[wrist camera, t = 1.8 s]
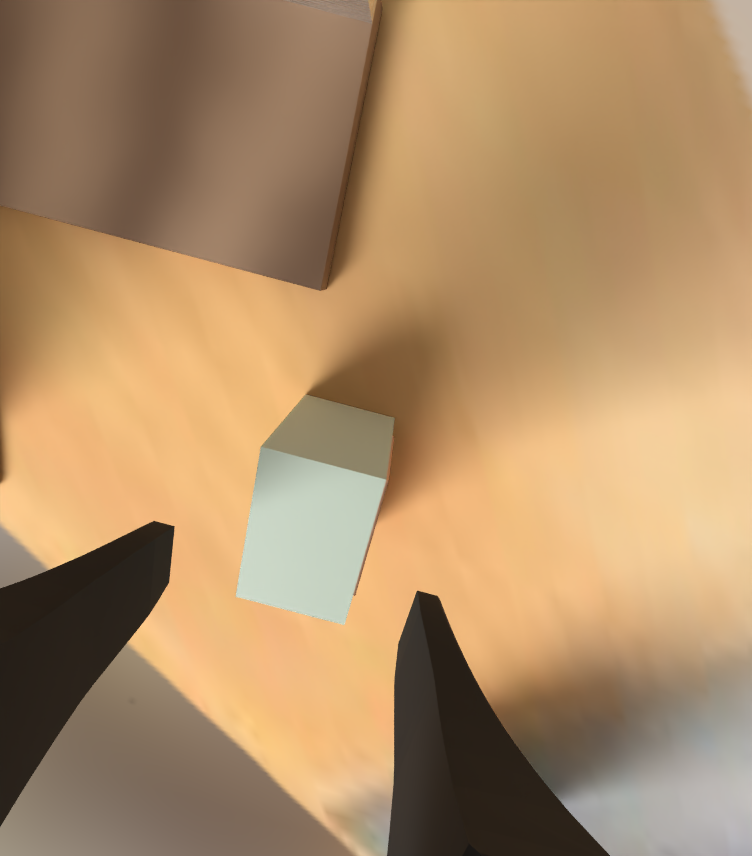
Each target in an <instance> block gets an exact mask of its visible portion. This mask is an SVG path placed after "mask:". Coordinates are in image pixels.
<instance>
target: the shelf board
mask: <svg viewBox="0 0 752 856" xmlns="http://www.w3.org/2000/svg"><path fill="white" fill-rule="evenodd" d="M381 13H382V2H381V0H377V3H376V8H375V13H374V18H373V23H372V24H370V23H367V22H363V21H359V20H355V19H352V18H348V17H344V16H341V15H337V14H333V13H330V12H326V11H322V10H318V9H315V8H311V7H307V6H304V5H300V4H296V3H292V2H289V1H285V0H0V206H4V207H8V208H12V209H15V210H19V211H23V212H27V213H30V214H34V215H38V216H42V217H45V218H49V219H53V220H57V221H60V222H64V223H68V224H72V225H75V226H79V227H83V228H87V229H90V230H94V231H98V232H102V233H106V234H109V235H113V236H117V237H121V238H124V239H128V240H132V241H136V242H139V243H143V244H147V245H151V246H154V247H158V248H162V249H166V250H169V251H173V252H177V253H181V254H184V255H188V256H192V257H196V258H199V259H203V260H207V261H211V262H214V263H218V264H222V265H226V266H230V267H233V268H237V269H241V270H245V271H248V272H252V273H256V274H260V275H263V276H267V277H271V278H275V279H278V280H282V281H286V282H290V283H293V284H297V285H301V286H305V287H308V288H312V289H316V290H320V291H321V290H325V289H327V284H328V279H329V274H330V269H331V264H332V259H333V254H334V249H335V244H336V239H337V234H338V229H339V224H340V219H341V214H342V209H343V204H344V199H345V194H346V189H347V184H348V179H349V174H350V169H351V164H352V159H353V154H354V149H355V144H356V139H357V134H358V129H359V124H360V118H361V113H362V108H363V103H364V98H365V93H366V88H367V83H368V78H369V73H370V68H371V63H372V58H373V53H374V48H375V43H376V38H377V33H378V28H379V23H380V18H381Z"/></svg>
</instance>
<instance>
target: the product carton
mask: <svg viewBox="0 0 752 856" xmlns="http://www.w3.org/2000/svg"><path fill="white" fill-rule="evenodd" d="M394 421H395V418H393V417H390V416H386V415H382V414H378V413H375V412H371V411H367V410H363V409H359V408H356V407H352V406H348V405H344V404H341V403H337V402H333V401H329V400H325V399H322V398H318V397H314V396H310V395H307V394H306V395H305V396H304V397H303V398H302V399H301V400H300V402H299V403H298V404H297V405H296V406H295V407H294V409H293V410H292V411H291V412H290V413H289V414H288V416H287V417H286V418H285V419H284V420H283V422H282V423H281V424H280V425H279V426H278V427H277V429H276V430H275V431H274V432H273V433H272V434H271V436H270V437H269V438H268V439H267V440H266V441H265V443H264V444H263V445H262V446H261V450H260V456H259V462H258V467H257V473H256V479H255V485H254V491H253V497H252V503H251V509H250V515H249V521H248V527H247V533H246V538H245V544H244V550H243V556H242V562H241V568H240V574H239V580H238V586H237V592H236V597H239V598H243V599H247V600H250V601H254V602H258V603H262V604H266V605H270V606H273V607H277V608H281V609H285V610H289V611H293V612H296V613H300V614H304V615H308V616H312V617H316V618H319V619H323V620H327V621H331V622H335V623H339V624H342V625H345V621H346V618H347V614H348V611H349V607H350V604H351V600H352V597H353V595H354V596H355V595H356V591H357V588H358V584H359V581H360V577H361V574H362V571H363V567H364V564H365V560H366V557H367V553H368V550H369V547H370V543H371V540H372V536H373V533H374V529H375V526H376V523H377V519H378V516H379V512H380V509H381V505H382V502H383V499H384V495H385V492H386V488H387V485H388V481H389V475H390V467H391V459H392V451H393V443H394V437H392V435H393V428H394Z"/></svg>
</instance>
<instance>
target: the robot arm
mask: <svg viewBox="0 0 752 856" xmlns="http://www.w3.org/2000/svg"><path fill="white" fill-rule="evenodd" d="M174 527H175V526H171V525H167V524H163V523H160V522H156V521H153V522H151V523H149V524H147V525H145V526H142V527H140V528H138V529H136V530H134V531H132V532H130V533H128V534H126V535H124V536H122V537H120V538H118V539H116V540H114V541H112V542H110V543H108V544H106V545H104V546H102V547H100V548H97V549H95V550H93V551H91V552H89V553H87V554H85V555H83V556H81V557H78V558H76V559H74V560H71V561H69V562H67V563H64V564H62V565H60V566H57V567H55V568H53V569H50V570H48V571H46V572H43V573H41V574H38V575H36V576H33V577H31V578H28V579H26V580H23V581H20V582H17V583H15V584H12V585H9V586H6V587H3V588H0V826H1V825H2V823H3V821H4V820H5V818H6V816H7V815H8V813H9V812H10V810H11V808H12V807H13V805H14V803H15V802H16V800H17V798H18V797H19V795H20V794H21V792H22V790H23V789H24V787H25V785H26V784H27V782H28V781H29V779H30V778H31V776H32V774H33V773H34V771H35V770H36V768H37V767H38V765H39V764H40V762H41V760H42V759H43V757H44V756H45V754H46V753H47V751H48V749H49V748H50V746H51V745H52V743H53V742H54V740H55V738H56V737H57V736H58V734H59V733H60V731H61V730H62V728H63V726H64V725H65V724H66V722H67V721H68V719H69V718H70V716H71V715H72V713H73V712H74V710H75V709H76V707H77V706H78V704H79V703H80V701H81V700H82V699H83V698H84V696H85V695H86V693H87V692H88V691H89V689H90V688H91V687H92V685H93V684H94V683H95V682H96V680H97V679H98V678H99V677H100V675H101V674H102V673H103V672H104V671H105V669H106V668H107V667H108V665H109V664H110V663H111V662H112V661H113V659H114V658H115V657H116V656H117V654H118V653H119V652H120V651H121V649H122V648H123V647H124V646H125V644H126V643H127V642H128V641H129V640H130V638H131V637H132V636H133V634H134V633H135V632H136V631H137V629H138V628H139V627H140V626H141V624H142V623H143V622H144V621H145V619H146V618H147V617H148V615H149V614H150V612H151V611H152V609H153V608H154V606H155V605H156V603H157V602H158V600H159V598H160V597H161V595H162V593H163V592H164V590H165V588H166V587H167V585H168V583H169V577H170V567H171V557H172V547H173V537H174ZM387 856H610V855H609V854H608V853H607V852H606V851H605V850H604V849H603V848H602V847H601V846H600V844H599V843H598V842H597V841H596V840H595V839H594V838H593V837H592V836H591V835H590V834H589V833H588V832H587V831H586V830H585V828H584V827H583V826H582V825H581V824H580V823H579V822H578V821H577V820H576V819H575V818H574V817H573V816H572V815H571V813H570V812H569V811H568V810H567V809H566V808H565V807H564V805H563V804H562V803H561V802H560V801H559V799H558V798H557V797H556V796H555V795H554V793H553V792H552V791H551V790H550V789H549V788H548V786H547V785H546V784H545V783H544V781H543V780H542V779H541V778H540V776H539V775H538V774H537V773H536V771H535V770H534V769H533V767H532V766H531V765H530V763H529V762H528V761H527V759H526V758H525V757H524V755H523V754H522V753H521V751H520V750H519V749H518V747H517V746H516V744H515V743H514V742H513V740H512V739H511V737H510V736H509V734H508V733H507V732H506V730H505V729H504V727H503V726H502V724H501V722H500V721H499V719H498V718H497V716H496V715H495V713H494V711H493V710H492V708H491V706H490V705H489V703H488V701H487V699H486V698H485V696H484V694H483V692H482V691H481V689H480V687H479V685H478V683H477V681H476V680H475V678H474V676H473V674H472V672H471V670H470V668H469V666H468V664H467V662H466V660H465V658H464V655H463V653H462V651H461V649H460V647H459V645H458V643H457V640H456V638H455V636H454V634H453V631H452V629H451V627H450V624H449V622H448V619H447V617H446V614H445V612H444V609H443V607H442V604H441V601H440V599H439V598H438V596H435V595H431V594H428V593H424V592H420V591H417V592H416V595H415V598H414V601H413V604H412V607H411V609H410V612H409V615H408V618H407V621H406V624H405V626H404V629H403V632H402V635H401V638H400V641H399V644H398V652H397V661H396V670H395V683H394V786H393V798H392V810H391V821H390V832H389V843H388V853H387Z"/></svg>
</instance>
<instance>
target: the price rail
mask: <svg viewBox="0 0 752 856" xmlns="http://www.w3.org/2000/svg"><path fill="white" fill-rule="evenodd" d="M285 1H289V2H292V3H296V4H300V5H304V6H307V7H311V8H315V9H318V10H322V11H326V12H330V13H333V14H337V15H341V16H344V17H348V18H352V19H355V20H359V21H363V22H367V23H370V24H372V23H373V18H374V13H375V8H376V3H377V0H285Z"/></svg>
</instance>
